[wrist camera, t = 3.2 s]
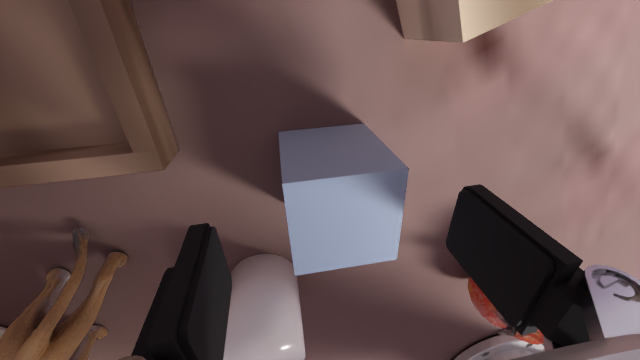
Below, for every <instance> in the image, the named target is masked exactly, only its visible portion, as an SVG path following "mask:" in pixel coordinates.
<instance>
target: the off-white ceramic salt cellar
mask: <svg viewBox="0 0 640 360" xmlns="http://www.w3.org/2000/svg"><path fill="white" fill-rule="evenodd" d="M231 278H232V292H231V300H230V308H229V317H228V325H227V333H226V341H225V349H224V357H223V360H305V345H304V336H303V327H302V317H301V308H300V299H299V290H298V280H297V276H295V274H294V267H293V264H292V263H291V262H290V261H289V260H287V259H286V258H284V257H281V256H278V255H274V254H259V255H254V256H251V257H248V258H246V259H244V260H242V261H241V262H239V263H238V264H237V265H236V266H235V267H234V269H233V271H232V273H231Z"/></svg>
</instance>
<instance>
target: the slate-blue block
mask: <svg viewBox="0 0 640 360" xmlns="http://www.w3.org/2000/svg"><path fill="white" fill-rule="evenodd" d="M278 134H279V148H280V162H281V175H282V187H283V194H284V201H285V209H286V216H287V223H288V231H289V238H290V245H291V252H292V260H293V267H294V274H295V276H297V275H304V274H310V273H316V272H322V271H329V270H335V269H341V268H347V267H353V266H360V265H366V264H372V263H378V262H385V261H391V260H397V254H398V247H399V239H400V231H401V224H402V216H403V209H404V201H405V193H406V186H407V178H408V171H409V168H408V167H407V166H406V165H405V164H404V163H403V162H402V161H401V160H400V159H399V158H398V157H397V156H396V155H395V154H394V153H393V152H392V151H391V150H390V149H389V148H388V147H387V146H386V145H385V144H384V143H383V142H382V141H381V140H380V139H379V138H378V137H377V136H376V135H375V134H374V133H373V132H372V131H371V130H370V129H369V128H368V127H367V126H366V125H365V124H364V123H363V124H353V125H342V126H332V127H322V128H312V129H302V130H291V131H281V132H278Z"/></svg>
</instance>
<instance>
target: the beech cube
mask: <svg viewBox="0 0 640 360" xmlns="http://www.w3.org/2000/svg"><path fill="white" fill-rule="evenodd" d="M551 1H553V0H396V3H397V8H398V13H399V17H400V22H401V27H402V31H403V36H404V39H413V40H429V41H445V42H461V43H463V42H465V41H468V40H470V39H472V38H474V37H476V36H478V35H480V34H483V33H485V32H487V31H489V30H491V29H493V28H495V27H498V26H500V25H502V24H504V23H506V22H508V21H510V20H513V19H515V18H517V17H519V16H521V15H523V14H525V13H528V12H530V11H532V10H534V9H536V8H538V7H540V6H543V5H545V4H547V3H549V2H551Z"/></svg>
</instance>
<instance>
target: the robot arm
mask: <svg viewBox="0 0 640 360" xmlns="http://www.w3.org/2000/svg"><path fill="white" fill-rule="evenodd" d="M446 245H447V248H448V250H449V251H450V252H451V254H452V255H453V256H454V257H455V259H456V260H457V261H458V262H459V263H460V265H461V266H462V267H463V268H464V270H465V271H466V272H467V273H468V275H469V276H470V277H471V278H472V280H473V281H474V282H475V283H476V285H477V286H478V287H479V288H480V290H481V291H482V292H483V293H484V294H485V296H486V297H487V298H488V299H489V301H490V302H491V303H492V304H493V306H494V307H495V308H496V309H497V311H498V312H499V313H500V314H501V316H502V317H503V318H504V319H505V321H506V322H507V323H508V324H509V325H511V326H513V327H515V329H516V330H517V331H518V332H519V333H520V335H521V336H522V335H527V334H531V333H535V332H536V331H537V330H538V329H539V330H540V332H541V333H542V334H543V339H544V345H543V344H539V345H536V344H530V343H528V342H525V341H522V340H519V339H517V338H515V337H513V336H509V335H504V334H501V335H498V336H494V337H491V338H489V339H486V340H484V341H481V342H479V343H477V344H475V345H473V346H471V347H470V348H468V349H467V350H465V351H463V352H462V353H461V354H460V355H458V356H457V357H456V358H455V359H454V360H640V281H639V280H638V279H636V278H635V277H633V276H632V275H629V274H627V273H625V272H623V271H621V270H618V269H616V268H613V267H609V266H604V265H591V266H588V267H587V268H586V269H585V271H583V270H582V269H580V268H579V266H580V265H581V263H582V262H583V260H581V259H580V258H579V257H577V256H576V255H575V254H573V253H572V252H571V251H569V250H568V249H567V248H565V247H564V246H563V245H561V244H560V243H559V242H557V241H556V240H555V239H553V238H552V237H551V236H549V235H548V234H547V233H545V232H544V231H543V230H541V229H540V228H539V227H537V226H536V225H535V224H533V223H532V222H531V221H529V220H528V219H527V218H525V217H524V216H523V215H521V214H520V213H519V212H517V211H516V210H515V209H513V208H512V207H511V206H509V205H508V204H507V203H505V202H504V201H503V200H501V199H500V198H499V197H497V196H496V195H495V194H493V193H492V192H491V191H489V190H488V189H487V188H485V187H484V186H482V185H472V186H466V187H464V188H463V189H462V191H460V192H459V195H458V199H457V202H456V206H455V210H454V213H453V217H452V221H451V224H450V228H449V232H448V235H447V239H446ZM231 292H232V278H231V274H230V271H229V268H228V265H227V262H226V259H225V256H224V252H223V249H222V246H221V243H220V240H219V237H218V234H217V231H216V228H215V227H214V226H213V227H210V225H209V224H208V223H205V224H198V225H191V226H190V227H189V229H188V232H187V234H186V237H185V240H184V242H183V245H182V248H181V250H180V253H179V256H178V259H177V261H176V264H175V267H172V268H168V269H167V270H166V271H165V273H164V275H163V278H162V280H161V283H160V285H159V288H158V290H157V293H156V295H155V298H154V300H153V303H152V305H151V308H150V310H149V313H148V315H147V318H146V320H145V323H144V325H143V328H142V330H141V333H140V335H139V338H138V340H137V343H136V345H135V348H134V350H133V353H132V355H131V356H127V357H124V358H122V359H119V360H223V357H224V349H225V341H226V333H227V325H228V317H229V308H230V300H231ZM544 347H545V348H544Z"/></svg>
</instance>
